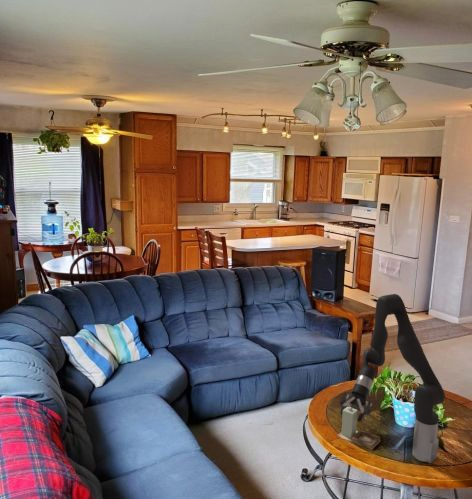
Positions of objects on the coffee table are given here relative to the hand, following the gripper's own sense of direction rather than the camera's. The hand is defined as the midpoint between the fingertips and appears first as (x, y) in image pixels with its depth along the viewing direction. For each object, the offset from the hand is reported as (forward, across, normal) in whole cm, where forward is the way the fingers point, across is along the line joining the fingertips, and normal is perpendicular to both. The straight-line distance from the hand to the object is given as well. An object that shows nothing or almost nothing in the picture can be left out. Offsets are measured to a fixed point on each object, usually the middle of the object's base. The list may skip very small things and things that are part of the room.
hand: (350, 418), depth 212 cm
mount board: (+7, +5, +6) cm, 10 cm away
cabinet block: (+6, 0, +5) cm, 8 cm away
